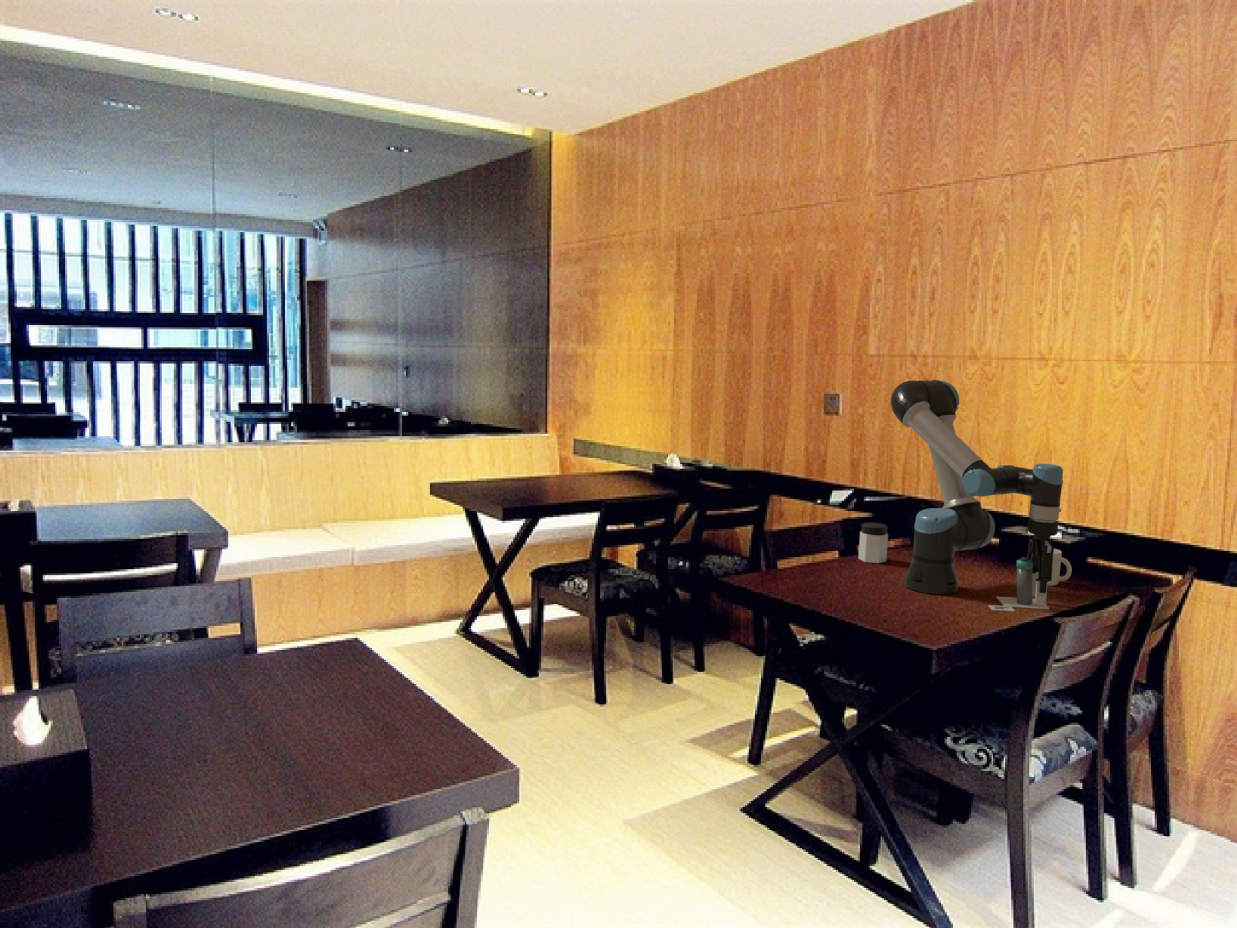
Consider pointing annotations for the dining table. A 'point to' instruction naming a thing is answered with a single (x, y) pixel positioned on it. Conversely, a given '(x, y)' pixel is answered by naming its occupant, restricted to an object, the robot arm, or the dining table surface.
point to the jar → (873, 543)
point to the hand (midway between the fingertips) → (1035, 599)
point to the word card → (1001, 608)
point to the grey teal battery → (1024, 581)
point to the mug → (1056, 568)
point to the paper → (1013, 603)
